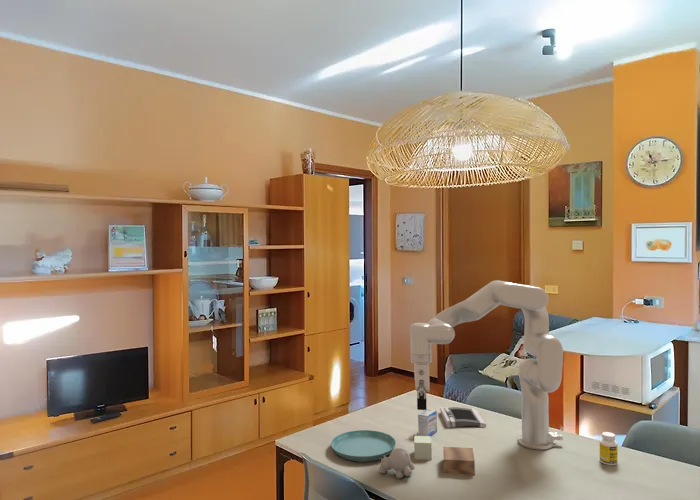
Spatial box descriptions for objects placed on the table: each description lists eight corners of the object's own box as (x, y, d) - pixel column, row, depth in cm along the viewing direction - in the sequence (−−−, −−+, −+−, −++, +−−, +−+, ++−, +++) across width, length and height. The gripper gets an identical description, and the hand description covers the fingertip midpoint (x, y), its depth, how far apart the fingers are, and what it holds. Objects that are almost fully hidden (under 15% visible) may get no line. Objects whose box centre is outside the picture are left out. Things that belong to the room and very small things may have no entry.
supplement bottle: (610, 467, 166) (610, 438, 166) (596, 461, 171) (596, 433, 171) (621, 463, 169) (620, 435, 169) (606, 457, 174) (606, 429, 173)
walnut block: (472, 462, 173) (472, 448, 173) (474, 475, 164) (474, 461, 163) (443, 460, 175) (443, 446, 175) (444, 474, 165) (443, 459, 165)
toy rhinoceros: (387, 475, 171) (378, 451, 172) (418, 467, 166) (408, 442, 167) (379, 484, 164) (370, 459, 165) (411, 477, 159) (401, 451, 161)
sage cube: (431, 452, 182) (431, 436, 181) (431, 459, 176) (431, 443, 175) (414, 451, 182) (414, 435, 182) (414, 459, 176) (414, 442, 176)
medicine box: (428, 438, 194) (427, 416, 194) (418, 435, 197) (417, 414, 196) (437, 431, 200) (437, 410, 200) (427, 429, 203) (427, 408, 203)
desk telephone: (440, 406, 221) (476, 402, 221) (441, 416, 221) (477, 413, 221) (447, 421, 204) (486, 417, 203) (448, 432, 204) (487, 428, 204)
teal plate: (409, 448, 186) (408, 440, 186) (366, 472, 168) (366, 462, 168) (361, 432, 202) (360, 424, 202) (317, 452, 185) (317, 443, 184)
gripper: (432, 364, 169) (433, 413, 169) (431, 352, 186) (431, 397, 187) (410, 363, 170) (410, 413, 170) (411, 351, 187) (411, 396, 188)
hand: (421, 404), depth 179 cm, fingers open, 9 cm apart
